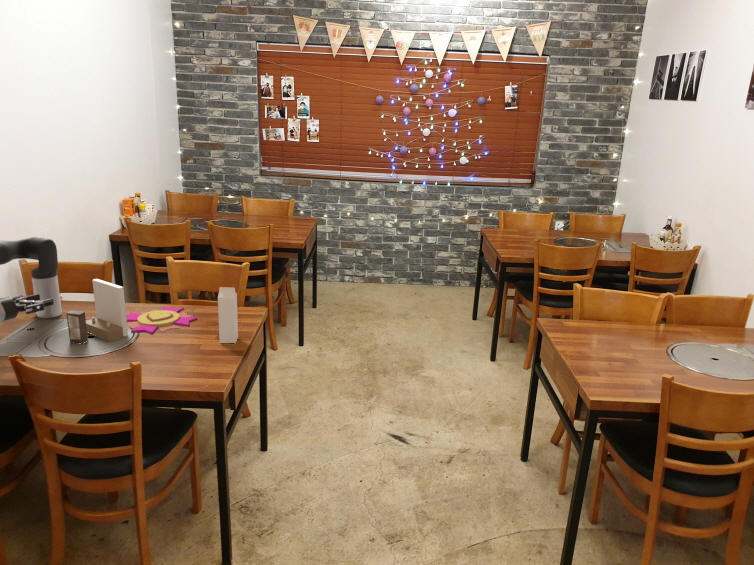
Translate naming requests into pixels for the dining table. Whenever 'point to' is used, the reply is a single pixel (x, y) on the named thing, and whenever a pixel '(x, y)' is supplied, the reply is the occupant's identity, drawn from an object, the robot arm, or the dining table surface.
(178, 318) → the wall ornament
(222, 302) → the milk
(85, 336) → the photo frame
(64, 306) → the dining table surface
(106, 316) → the wall panel
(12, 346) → the dining table surface
